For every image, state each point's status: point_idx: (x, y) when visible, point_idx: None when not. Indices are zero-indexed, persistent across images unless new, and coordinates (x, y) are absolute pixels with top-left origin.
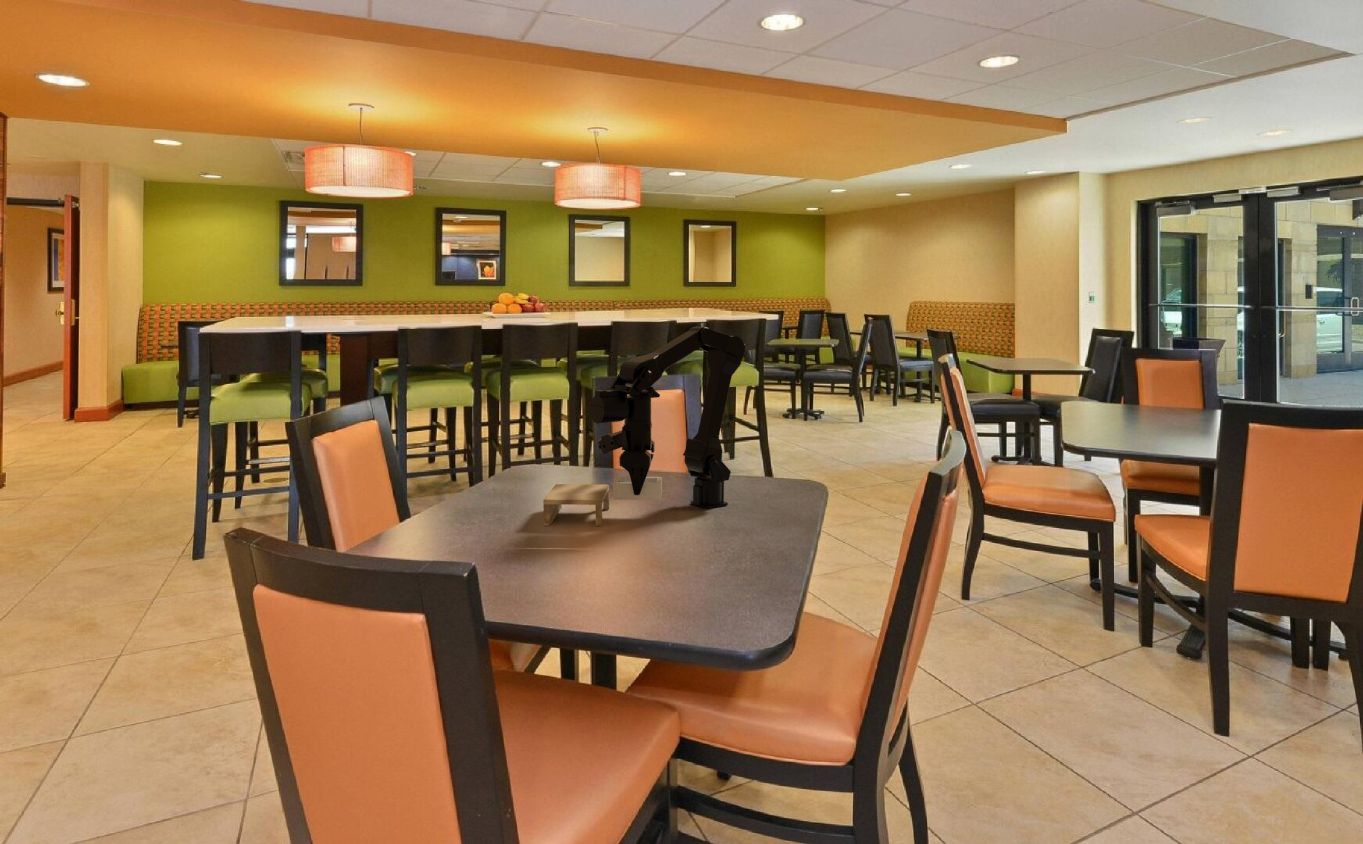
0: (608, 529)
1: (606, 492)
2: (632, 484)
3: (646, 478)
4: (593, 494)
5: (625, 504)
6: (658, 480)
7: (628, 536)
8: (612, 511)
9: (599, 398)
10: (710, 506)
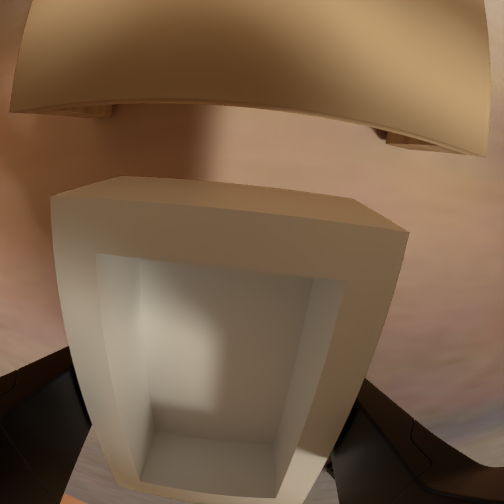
0: (62, 153)
1: (323, 115)
2: (42, 362)
3: (287, 461)
4: (160, 19)
5: (468, 231)
6: (199, 496)
7: (4, 234)
8: (371, 161)
9: None
10: (330, 474)
